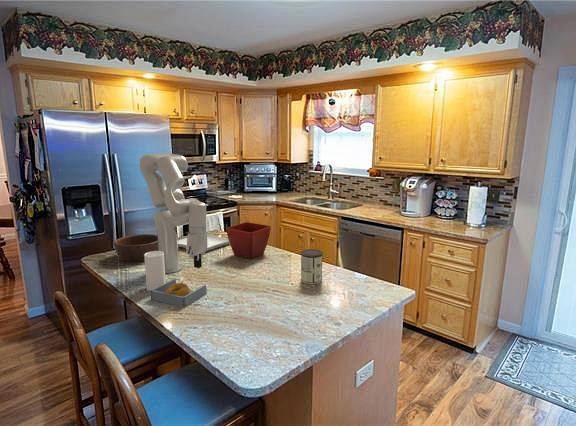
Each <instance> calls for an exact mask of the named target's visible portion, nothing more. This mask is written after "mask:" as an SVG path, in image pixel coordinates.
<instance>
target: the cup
mask: <svg viewBox="0 0 576 426" xmlns="http://www.w3.org/2000/svg"><path fill="white" fill-rule="evenodd" d="M144 258H145V261H144V270H145V284H146V290H147V291H149V292H150V290H152V289H154V288H156V287H158V286H160V285H162V284H164V283H167V282H166V273H165V264H164V253H163V252H161V251H152V252H148V253H145V254H144Z"/></svg>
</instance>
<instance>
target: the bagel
mask: <svg viewBox="0 0 576 426" xmlns="http://www.w3.org/2000/svg"><path fill="white" fill-rule="evenodd" d="M190 291H191V290H190V287H189V286H188V285H187V284H185V283H182V282H181V283H180V282H178V283H177V282H176V284H174V285H172V286H171V287H170V288H169V289H168V290H166V291H165V293H168V294H173V295H177V296H182V297H184V296H186V295H188V294H189V293H191V292H190Z"/></svg>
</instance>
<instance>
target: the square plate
mask: <svg viewBox="0 0 576 426" xmlns="http://www.w3.org/2000/svg"><path fill="white" fill-rule="evenodd" d="M177 240H178V239H177ZM226 245H230V243H229V239H228V238H225V237H222V236H218V235H214V234H213V235H212V234H207V250H206V252H208V251H212V250H215V249H218V248H221V247H224V246H226ZM186 246H187V237H185V238H182V239H179V240H178V248H183V249H186Z"/></svg>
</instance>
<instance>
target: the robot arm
mask: <svg viewBox="0 0 576 426" xmlns="http://www.w3.org/2000/svg"><path fill="white" fill-rule="evenodd" d="M188 168H189V163H188V161H187V158H185V156H183V155H181V154H176V153H148V154H145V155H142V156H141V157H140V159H139V170H140V173H141V175H142V177H143V178H144V181H145V183H146V185H147V188H148V192H149V195H150V199H151V201H152V204H153V206H154V207H155V208H156V209H157V208H158V209H159V208H161V209H160V210H158V211H156V212H155V214H154V219H153V220H154V224H155V227H156V233H157V236H158V249H159V251H161V252H163V253H164V264H165V274H172V273H177V272H179V271H181V270H182V269H183V265H182V264H180V263H179V246H178V235H177V232H175V230H174V229H173V228H176V227H180V226H185V225H188V234H187V237H186V238H187V246H186V248H185V249H186V251H185V253H186V254H187V255H189V256H188V258H189V259H192V260H193V267H194V268H196V269H200V268H202V267H203V263H202V260H203V257H204V256H203V255H204V254H205V253H206V252H207V251H206V250H207V235H208V234H207V233H208V232H207V205H206V204H207V203H204V202H202V201H200V200H198V198H185V195H184V192H183V191H182V190H181V189H180V188H182V187H183V186H184V184H185V178H184V176H183V174H182V173H184V172H187V170H188ZM157 171H158V172H160V174H159V173H158V172H157ZM162 208H165V209H162Z"/></svg>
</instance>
